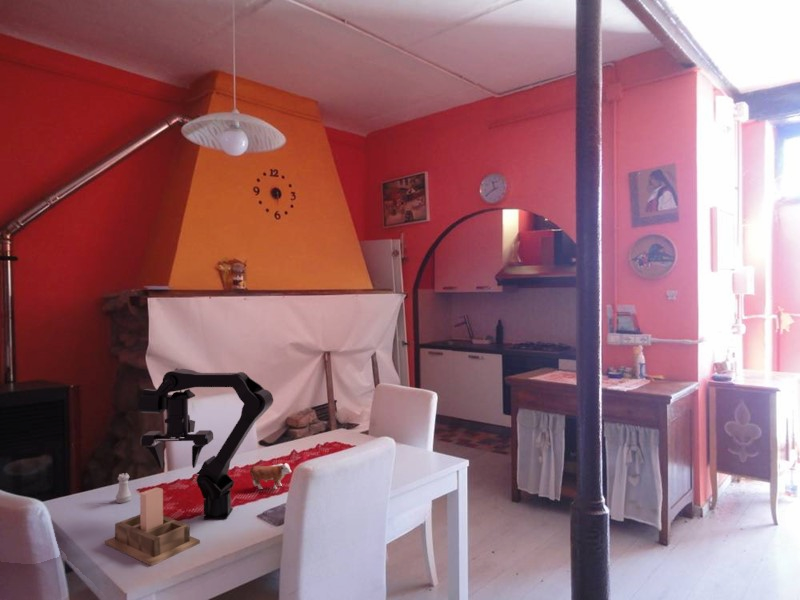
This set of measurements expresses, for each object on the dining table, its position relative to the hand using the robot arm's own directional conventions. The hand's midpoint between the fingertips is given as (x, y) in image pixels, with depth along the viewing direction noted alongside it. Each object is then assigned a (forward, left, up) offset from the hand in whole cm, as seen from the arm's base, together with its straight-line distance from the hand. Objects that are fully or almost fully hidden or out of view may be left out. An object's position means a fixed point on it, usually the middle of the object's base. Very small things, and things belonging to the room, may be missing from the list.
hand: (177, 467), depth 150 cm
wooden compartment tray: (-1, +19, -13) cm, 23 cm away
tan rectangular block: (-1, +19, -12) cm, 22 cm away
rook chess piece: (+20, -10, -13) cm, 26 cm away
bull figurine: (-23, -18, -13) cm, 32 cm away
